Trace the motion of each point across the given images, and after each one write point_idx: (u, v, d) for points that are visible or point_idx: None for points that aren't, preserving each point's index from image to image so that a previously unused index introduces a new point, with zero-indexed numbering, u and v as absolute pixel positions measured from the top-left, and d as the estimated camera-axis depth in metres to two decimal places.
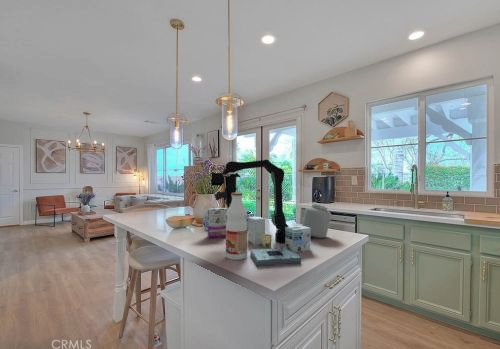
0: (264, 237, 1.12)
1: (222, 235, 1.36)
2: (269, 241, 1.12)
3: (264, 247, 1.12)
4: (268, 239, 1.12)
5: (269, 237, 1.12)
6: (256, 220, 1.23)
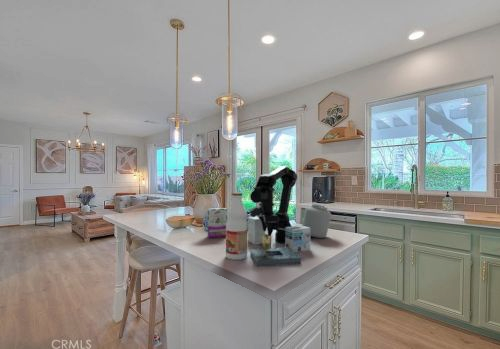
0: (264, 237, 1.12)
1: (222, 235, 1.36)
2: (269, 241, 1.12)
3: (264, 247, 1.12)
4: (268, 239, 1.12)
5: (269, 237, 1.12)
6: (256, 220, 1.23)
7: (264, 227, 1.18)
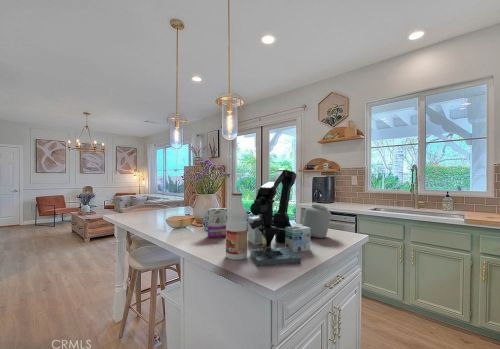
0: (264, 237, 1.12)
1: (222, 235, 1.36)
2: None
3: (264, 247, 1.12)
4: None
5: None
6: None
7: None
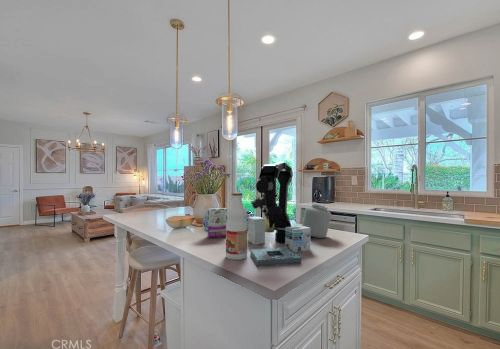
0: (267, 217, 1.06)
1: (222, 235, 1.36)
2: None
3: (267, 228, 1.06)
4: None
5: None
6: (256, 220, 1.23)
7: None
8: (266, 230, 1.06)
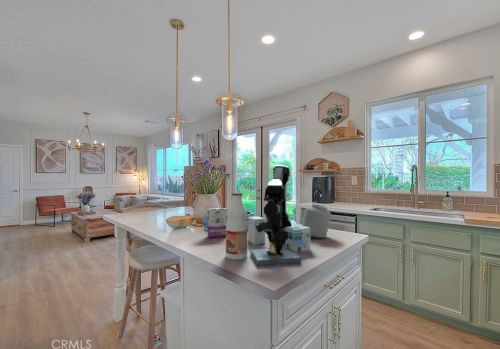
0: (271, 245, 0.99)
1: (222, 235, 1.36)
2: None
3: None
4: None
5: None
6: (256, 220, 1.23)
7: None
8: None
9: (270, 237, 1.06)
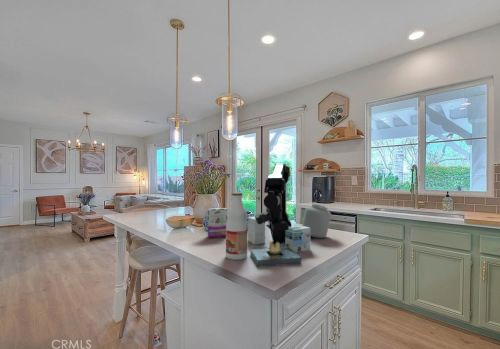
0: (272, 245, 0.99)
1: (222, 235, 1.36)
2: (277, 249, 0.99)
3: None
4: (276, 247, 0.99)
5: (278, 245, 0.99)
6: None
7: None
8: None
9: None
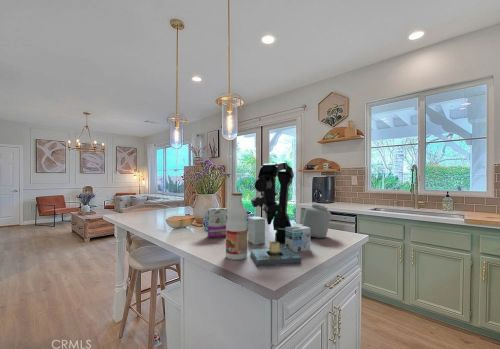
0: (272, 245, 0.99)
1: (222, 235, 1.36)
2: (277, 249, 0.99)
3: None
4: (276, 247, 0.99)
5: (278, 245, 0.99)
6: (256, 220, 1.23)
7: None
8: None
9: None
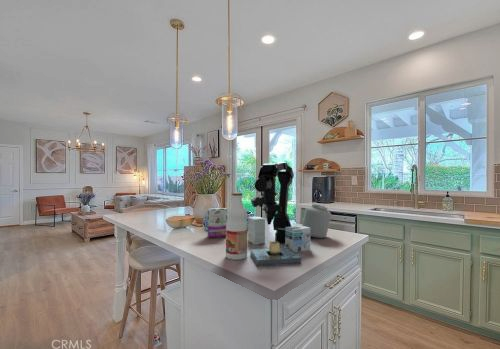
0: (272, 245, 0.99)
1: (222, 235, 1.36)
2: (277, 249, 0.99)
3: None
4: (276, 247, 0.99)
5: (278, 245, 0.99)
6: (256, 220, 1.23)
7: None
8: None
9: None
